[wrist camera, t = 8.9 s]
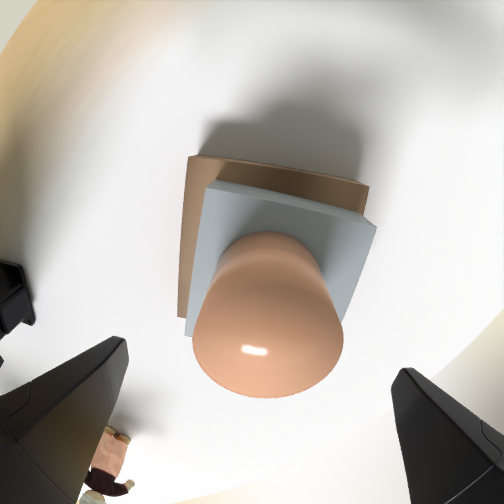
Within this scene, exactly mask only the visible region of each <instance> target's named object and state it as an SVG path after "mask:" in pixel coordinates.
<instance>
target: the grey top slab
mask: <svg viewBox="0 0 504 504" xmlns="http://www.w3.org/2000/svg"><path fill="white" fill-rule="evenodd" d="M376 229H377V227H376V226H375V225H373V224H372V223H371V222H370V221H368V220H367V219H366V218H364V217H363V216H362V215H361V214H359V213H358V212H355V211H351V210H348V209H344V208H340V207H336V206H333V205H329V204H325V203H321V202H317V201H313V200H309V199H305V198H301V197H296V196H292V195H288V194H284V193H279V192H275V191H270V190H266V189H261V188H257V187H252V186H247V185H242V184H237V183H232V182H227V181H222V180H217V179H215V180H214V181H213V182H212V183H211V184H209V185H208V186H207V187H206V190H205V195H204V201H203V207H202V213H201V219H200V225H199V231H198V237H197V244H196V250H195V257H194V264H193V271H192V278H191V286H190V294H189V301H188V310H187V318H186V327H185V336H189V337H193V331H194V327H195V324H196V321H197V318H198V316H199V313H200V310H201V307H202V304H203V302H204V299H205V296H206V293H207V291H208V288H209V285H210V282H211V280H212V277H213V274H214V272H215V269H216V266H217V263H218V261H219V259H220V257H221V255H222V254H223V252H224V251H225V250H226V249H227V248H228V247H229V246H230V245H231V244H232V243H233V242H234V241H236V240H238V239H239V238H241V237H243V236H245V235H248V234H251V233H254V232H260V231H276V232H281V233H285V234H288V235H290V236H292V237H294V238H296V239H298V240H299V241H301V242H302V243H303V244H304V245H305V246H307V247H308V249H309V250H310V251H311V252H312V254H313V255H314V257H315V259H316V261H317V264H318V266H319V269H320V271H321V274H322V276H323V279H324V281H325V284H326V286H327V289H328V291H329V294H330V297H331V299H332V302H333V304H334V307H335V310H336V312H337V315H338V318H339V320H340V323H341V322H342V320H343V318H344V315H345V313H346V310H347V308H348V306H349V303H350V301H351V298H352V296H353V293H354V291H355V288H356V285H357V283H358V280H359V277H360V275H361V272H362V269H363V267H364V264H365V261H366V258H367V255H368V253H369V250H370V247H371V244H372V241H373V238H374V235H375V232H376Z"/></svg>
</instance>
